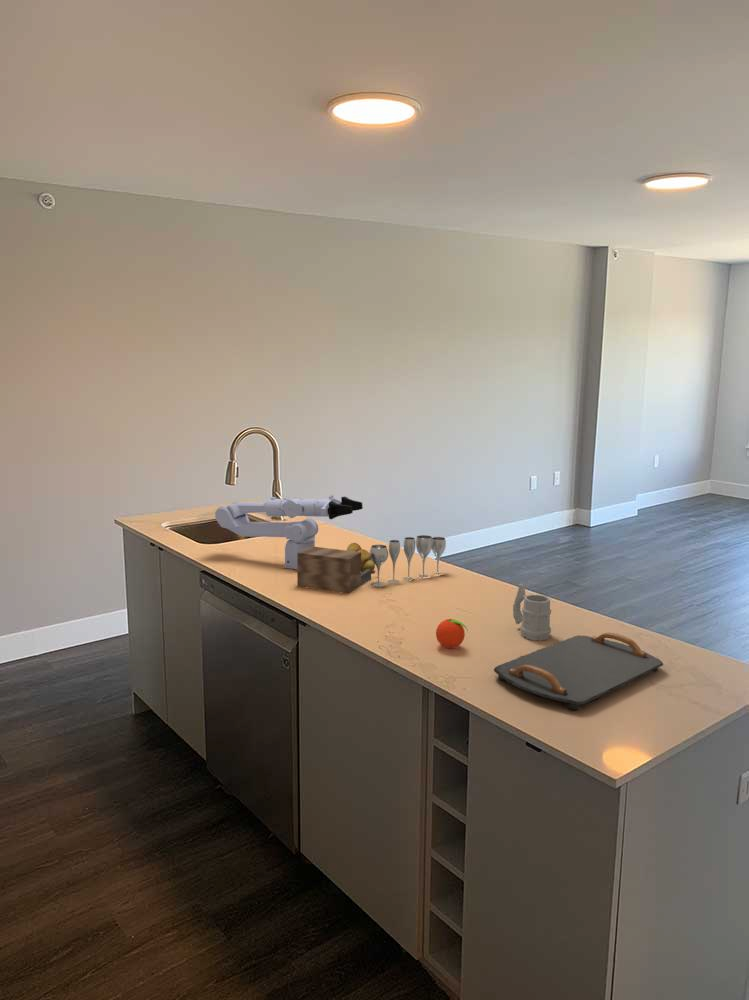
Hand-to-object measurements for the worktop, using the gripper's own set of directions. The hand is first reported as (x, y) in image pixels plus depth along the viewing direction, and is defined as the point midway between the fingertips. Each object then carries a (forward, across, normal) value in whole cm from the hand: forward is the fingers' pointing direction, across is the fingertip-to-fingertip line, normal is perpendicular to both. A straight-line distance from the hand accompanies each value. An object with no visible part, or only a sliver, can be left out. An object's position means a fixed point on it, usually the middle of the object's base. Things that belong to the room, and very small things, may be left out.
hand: (357, 507), depth 243 cm
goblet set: (+15, +2, +23) cm, 28 cm away
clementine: (+45, -48, +26) cm, 71 cm away
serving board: (+75, -52, +29) cm, 96 cm away
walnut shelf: (-4, -11, +22) cm, 24 cm away
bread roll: (-4, +5, +22) cm, 23 cm away
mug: (+60, -30, +27) cm, 72 cm away
